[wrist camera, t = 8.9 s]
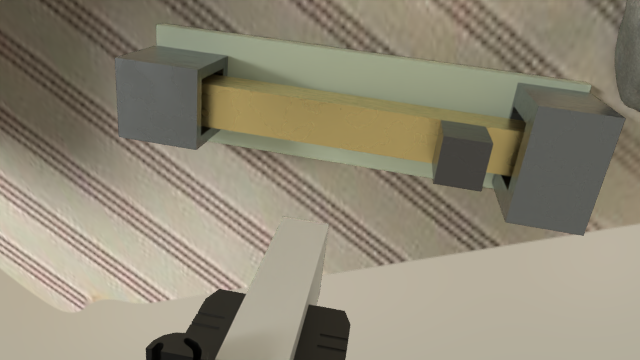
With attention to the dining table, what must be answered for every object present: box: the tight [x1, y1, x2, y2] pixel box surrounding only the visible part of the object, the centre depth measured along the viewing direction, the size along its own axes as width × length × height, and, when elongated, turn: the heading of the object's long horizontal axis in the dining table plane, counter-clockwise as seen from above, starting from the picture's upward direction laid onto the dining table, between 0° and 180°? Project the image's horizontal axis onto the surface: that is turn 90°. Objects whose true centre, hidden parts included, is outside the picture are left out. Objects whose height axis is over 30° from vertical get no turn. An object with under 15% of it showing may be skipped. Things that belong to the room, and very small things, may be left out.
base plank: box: [156, 23, 591, 189], centre depth 41 cm, size 33×9×1 cm, turn 83°
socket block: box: [492, 83, 626, 236], centre depth 35 cm, size 5×8×7 cm, turn 173°
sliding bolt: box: [201, 74, 526, 191], centre depth 36 cm, size 28×3×7 cm, turn 83°
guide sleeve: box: [115, 45, 228, 150], centre depth 39 cm, size 6×6×6 cm
